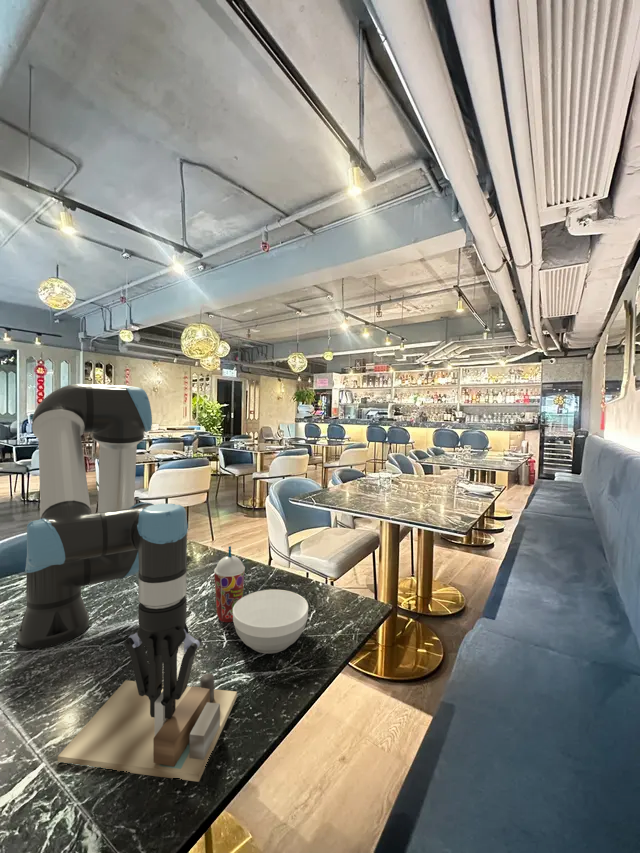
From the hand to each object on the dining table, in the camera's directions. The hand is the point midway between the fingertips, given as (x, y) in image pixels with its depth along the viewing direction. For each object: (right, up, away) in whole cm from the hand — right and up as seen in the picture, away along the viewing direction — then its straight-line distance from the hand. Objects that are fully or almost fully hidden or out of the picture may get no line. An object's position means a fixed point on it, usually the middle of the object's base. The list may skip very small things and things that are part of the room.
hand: (162, 733), depth 66 cm
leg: (+3, -1, +1) cm, 4 cm away
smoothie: (+1, -1, +42) cm, 42 cm away
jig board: (-3, -2, +4) cm, 6 cm away
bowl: (+14, -2, +32) cm, 35 cm away
